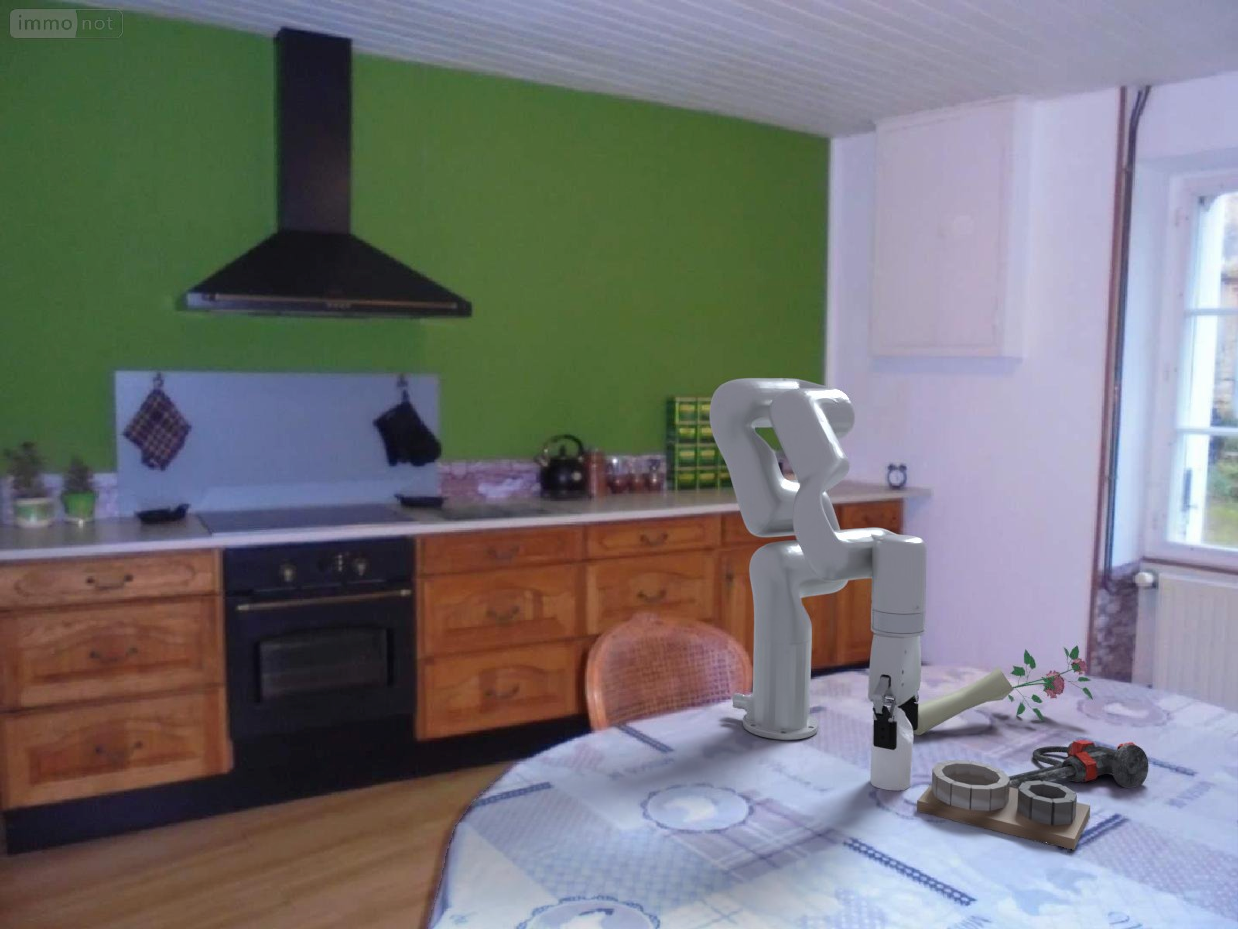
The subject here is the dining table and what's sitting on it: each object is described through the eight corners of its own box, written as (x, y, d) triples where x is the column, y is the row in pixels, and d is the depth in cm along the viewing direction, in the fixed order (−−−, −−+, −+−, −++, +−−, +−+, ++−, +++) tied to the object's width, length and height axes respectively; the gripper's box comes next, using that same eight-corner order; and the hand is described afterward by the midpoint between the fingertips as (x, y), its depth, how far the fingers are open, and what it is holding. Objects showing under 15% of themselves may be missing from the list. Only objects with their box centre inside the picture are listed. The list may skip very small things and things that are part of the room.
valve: (1090, 759, 165) (1170, 781, 151) (960, 789, 155) (1032, 816, 141) (1086, 720, 165) (1165, 738, 151) (956, 747, 155) (1027, 770, 141)
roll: (903, 696, 151) (922, 709, 145) (900, 774, 152) (918, 790, 147) (866, 699, 150) (883, 711, 144) (863, 777, 151) (880, 793, 145)
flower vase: (909, 769, 173) (1060, 700, 186) (954, 774, 162) (1112, 701, 175) (886, 701, 175) (1038, 638, 187) (929, 702, 163) (1087, 635, 176)
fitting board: (916, 811, 140) (918, 779, 139) (941, 781, 150) (943, 752, 149) (1073, 850, 129) (1075, 816, 128) (1089, 816, 139) (1091, 784, 138)
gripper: (892, 607, 155) (890, 717, 157) (851, 630, 141) (849, 750, 142) (941, 613, 151) (939, 726, 153) (904, 637, 137) (902, 761, 138)
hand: (896, 737), depth 147 cm, fingers open, 9 cm apart
